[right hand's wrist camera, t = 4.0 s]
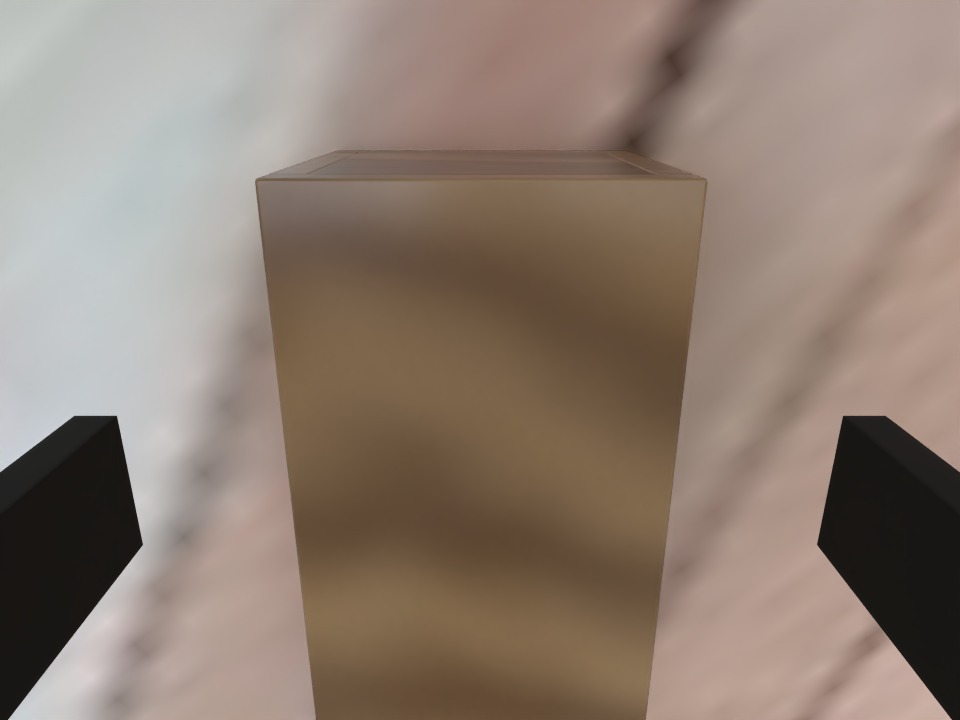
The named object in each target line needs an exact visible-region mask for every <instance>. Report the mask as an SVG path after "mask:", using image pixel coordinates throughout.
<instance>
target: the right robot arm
mask: <svg viewBox="0 0 960 720" xmlns="http://www.w3.org/2000/svg"><path fill="white" fill-rule="evenodd" d="M142 545H143V543H142V538H141V533H140V528H139V523H138V518H137V513H136V508H135V503H134V498H133V493H132V488H131V484H130V479H129V474H128V469H127V464H126V459H125V454H124V449H123V444H122V439H121V434H120V429H119V424H118V419H117V416H74V417H72V418H71V419H70V420H68V421H67V422H66V423H65V424H63V425H62V426H61V427H59V428H58V429H57V430H55V431H54V432H53V433H51V434H50V435H49V436H47V437H46V438H45V439H43V440H42V441H41V442H40V443H38V444H37V445H36V446H34V447H33V448H32V449H30V450H29V451H28V452H26V453H25V454H24V455H22V456H21V457H20V458H19V459H17V460H16V461H15V462H13V463H12V464H11V465H9V466H8V467H7V468H5V469H4V470H3V471H1V472H0V720H8V719H9V718H10V716H11V715H12V714H13V713H14V711H15V710H16V709H17V707H18V706H19V705H20V704H21V702H22V701H23V700H24V698H25V697H26V696H27V694H28V693H29V692H30V691H31V689H32V688H33V687H34V685H35V684H36V683H37V681H38V680H39V679H40V678H41V676H42V675H43V674H44V672H45V671H46V670H47V668H48V667H49V666H50V665H51V663H52V662H53V661H54V659H55V658H56V657H57V656H58V654H59V653H60V652H61V650H62V649H63V648H64V646H65V645H66V644H67V643H68V641H69V640H70V639H71V637H72V636H73V635H74V633H75V632H76V631H77V630H78V628H79V627H80V626H81V624H82V623H83V622H84V621H85V619H86V618H87V617H88V615H89V614H90V613H91V611H92V610H93V609H94V608H95V606H96V605H97V604H98V602H99V601H100V600H101V598H102V597H103V596H104V595H105V593H106V592H107V591H108V589H109V588H110V587H111V585H112V584H113V583H114V582H115V580H116V579H117V578H118V576H119V575H120V574H121V573H122V571H123V570H124V569H125V567H126V566H127V565H128V563H129V562H130V561H131V560H132V558H133V557H134V556H135V554H136V553H137V552H138V550H139V549H140V548H141V547H142ZM817 545H818V547H819V548H820V549H821V550H822V552H823V553H824V554H825V556H826V557H827V558H828V560H829V561H830V562H831V563H832V565H833V566H834V567H835V569H836V570H837V571H838V573H839V574H840V575H841V576H842V578H843V579H844V580H845V582H846V583H847V584H848V585H849V587H850V588H851V589H852V591H853V592H854V593H855V595H856V596H857V597H858V598H859V600H860V601H861V602H862V604H863V605H864V606H865V608H866V609H867V610H868V611H869V613H870V614H871V615H872V617H873V618H874V619H875V621H876V622H877V623H878V624H879V626H880V627H881V628H882V630H883V631H884V632H885V633H886V635H887V636H888V637H889V639H890V640H891V641H892V643H893V644H894V645H895V646H896V648H897V649H898V650H899V652H900V653H901V654H902V656H903V657H904V658H905V659H906V661H907V662H908V663H909V665H910V666H911V667H912V668H913V670H914V671H915V672H916V674H917V675H918V676H919V678H920V679H921V680H922V681H923V683H924V684H925V685H926V687H927V688H928V689H929V691H930V692H931V693H932V694H933V696H934V697H935V698H936V700H937V701H938V702H939V704H940V705H941V706H942V707H943V709H944V710H945V711H946V713H947V714H948V715H949V716H950V718H951V719H952V720H960V472H959V471H957V470H956V469H955V468H953V467H952V466H951V465H949V464H948V463H947V462H945V461H944V460H943V459H941V458H940V457H939V456H938V455H936V454H935V453H934V452H932V451H931V450H930V449H928V448H927V447H926V446H924V445H923V444H922V443H920V442H919V441H918V440H917V439H915V438H914V437H913V436H911V435H910V434H909V433H907V432H906V431H905V430H903V429H902V428H901V427H899V426H898V425H897V424H895V423H894V422H893V421H892V420H890V419H889V418H888V417H886V416H843V419H842V424H841V429H840V434H839V439H838V444H837V449H836V454H835V459H834V464H833V469H832V474H831V479H830V484H829V488H828V493H827V498H826V503H825V508H824V513H823V518H822V523H821V528H820V533H819V538H818V543H817Z"/></svg>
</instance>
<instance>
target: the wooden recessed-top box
mask: <svg viewBox="0 0 960 720" xmlns="http://www.w3.org/2000/svg"><path fill="white" fill-rule="evenodd" d="M255 185H256V194H257V202H258V211H259V220H260V229H261V238H262V247H263V255H264V264H265V273H266V282H267V291H268V299H269V308H270V317H271V326H272V335H273V344H274V352H275V361H276V370H277V379H278V388H279V397H280V405H281V414H282V423H283V432H284V441H285V449H286V458H287V467H288V476H289V485H290V494H291V502H292V511H293V520H294V529H295V538H296V547H297V555H298V564H299V573H300V582H301V591H302V599H303V608H304V617H305V626H306V635H307V644H308V652H309V661H310V670H311V679H312V688H313V697H314V705H315V714H316V720H646V712H647V704H648V695H649V686H650V677H651V669H652V660H653V651H654V643H655V634H656V625H657V616H658V608H659V599H660V590H661V581H662V573H663V564H664V555H665V546H666V538H667V529H668V520H669V511H670V503H671V494H672V485H673V477H674V468H675V459H676V450H677V442H678V433H679V424H680V415H681V407H682V398H683V389H684V380H685V372H686V363H687V354H688V345H689V337H690V328H691V319H692V311H693V302H694V293H695V284H696V276H697V267H698V258H699V249H700V241H701V232H702V223H703V214H704V206H705V197H706V188H707V179H705V178H702V177H699V176H697V175H693V174H691V173H688V172H685V171H682V170H679V169H677V168H674V167H671V166H668V165H665V164H662V163H659V162H657V161H654V160H651V159H648V158H645V157H642V156H639V155H636V154H634V153H631V152H628V151H335V152H332V153H329V154H326V155H323V156H320V157H317V158H314V159H311V160H308V161H306V162H303V163H300V164H297V165H294V166H291V167H288V168H285V169H282V170H279V171H277V172H274V173H271V174H268V175H266V176H263V177H260V178H257V179H256V181H255Z"/></svg>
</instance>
